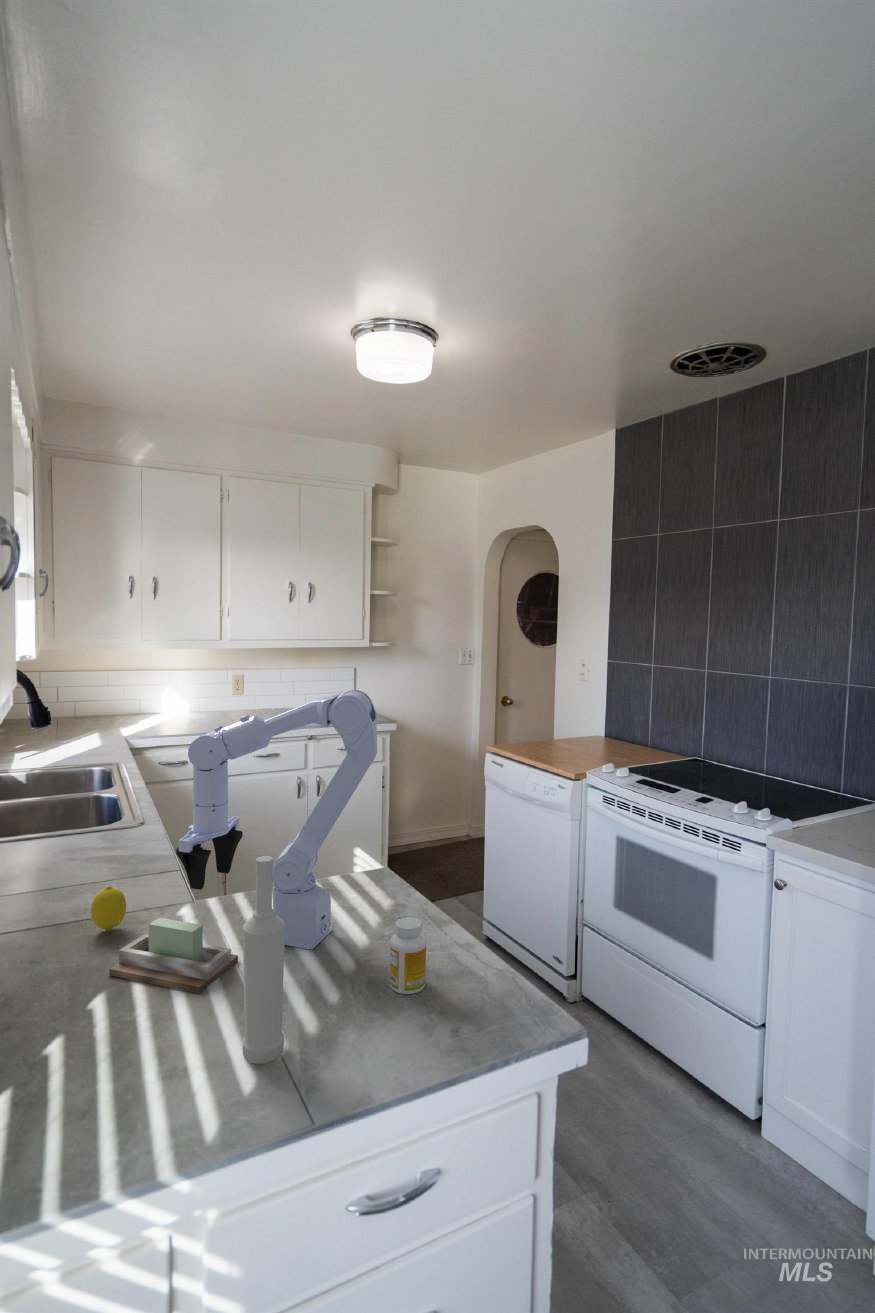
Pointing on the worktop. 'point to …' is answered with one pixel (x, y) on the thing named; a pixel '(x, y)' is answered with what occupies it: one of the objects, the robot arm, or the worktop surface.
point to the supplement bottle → (408, 957)
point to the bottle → (263, 973)
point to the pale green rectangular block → (176, 939)
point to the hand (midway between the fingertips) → (210, 880)
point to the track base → (172, 966)
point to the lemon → (108, 908)
